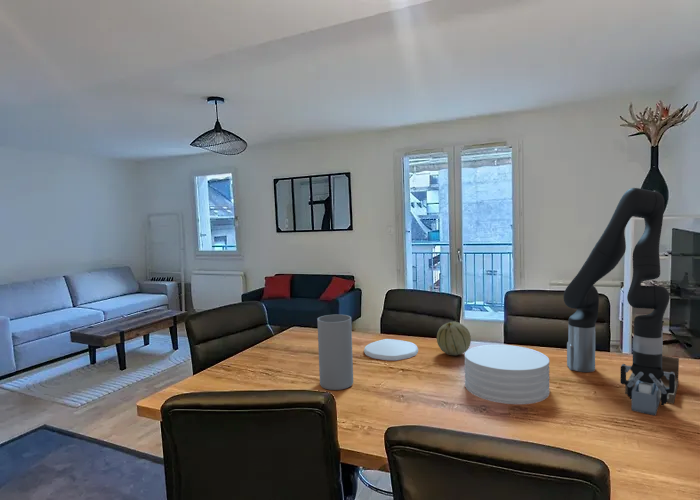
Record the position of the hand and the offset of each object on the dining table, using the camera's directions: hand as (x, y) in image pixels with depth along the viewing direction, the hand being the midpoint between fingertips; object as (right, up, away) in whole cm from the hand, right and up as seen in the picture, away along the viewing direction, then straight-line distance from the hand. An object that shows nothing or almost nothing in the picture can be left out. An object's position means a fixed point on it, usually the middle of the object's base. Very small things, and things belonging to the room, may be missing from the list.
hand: (646, 401), depth 133 cm
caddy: (0, -2, 0) cm, 2 cm away
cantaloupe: (-46, +1, +56) cm, 73 cm away
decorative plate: (-73, 0, +64) cm, 97 cm away
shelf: (+11, 0, +13) cm, 17 cm away
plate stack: (-37, -2, +18) cm, 42 cm away
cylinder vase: (-97, -3, +26) cm, 101 cm away
